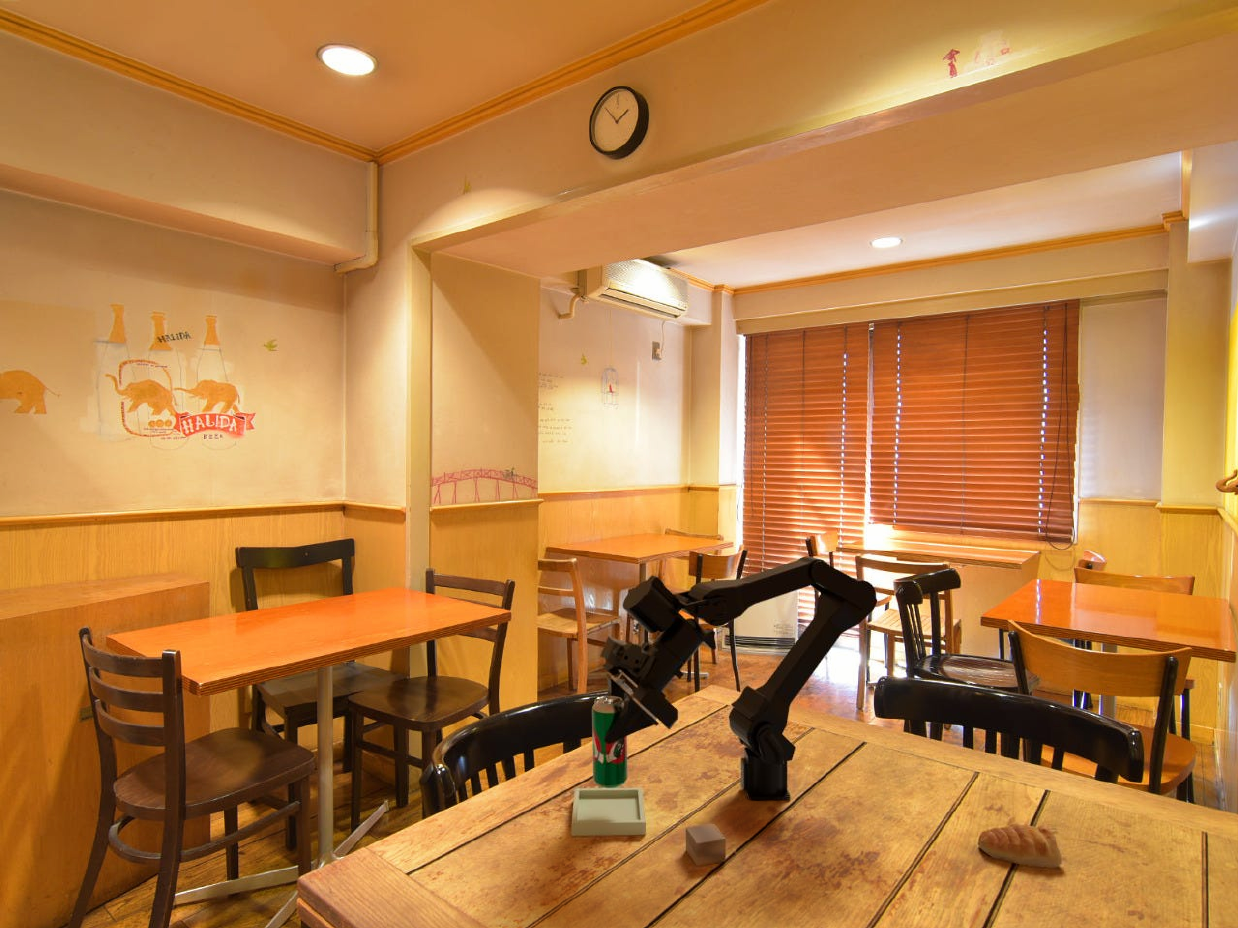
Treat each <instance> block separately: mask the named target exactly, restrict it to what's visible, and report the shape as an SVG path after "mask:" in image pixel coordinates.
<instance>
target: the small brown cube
mask: <svg viewBox="0 0 1238 928" xmlns="http://www.w3.org/2000/svg"><path fill="white" fill-rule="evenodd" d="M726 843H727V842H726V837H725V836H724V835H723V834H722V832H720V830H719V829H718V827H717V826H716V825H715V824H714V823H708V824H701V825H695V826H689V827H688V826H687V827H685V851H686V853H687V854H688V855H689V857H690V858H691V860H692V862H693V863H694V864H695V866H696V867H700V866H701V865H702V866H707V865H708V866H709V865H712V864H713V865H714V864H720V863H724V862H726V860H727V859H726V851H727V849H726V846H727V845H726Z"/></svg>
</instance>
